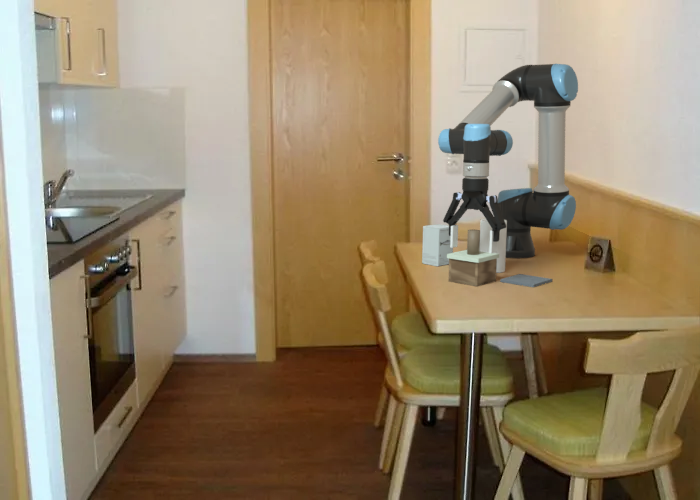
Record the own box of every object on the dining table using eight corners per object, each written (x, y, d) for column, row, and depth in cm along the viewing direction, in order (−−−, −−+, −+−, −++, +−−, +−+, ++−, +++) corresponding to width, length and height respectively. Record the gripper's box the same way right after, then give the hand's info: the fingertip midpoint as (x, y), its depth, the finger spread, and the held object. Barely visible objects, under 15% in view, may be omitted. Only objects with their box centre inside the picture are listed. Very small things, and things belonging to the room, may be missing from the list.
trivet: (519, 276, 253) (519, 273, 253) (552, 281, 246) (552, 278, 246) (500, 281, 245) (500, 279, 245) (533, 287, 238) (533, 284, 238)
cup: (504, 273, 258) (506, 222, 255) (478, 272, 259) (479, 221, 256) (505, 268, 266) (507, 218, 263) (479, 267, 267) (481, 217, 264)
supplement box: (438, 266, 268) (438, 228, 265) (421, 263, 273) (422, 225, 271) (453, 264, 272) (454, 226, 270) (436, 260, 278) (437, 223, 276)
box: (467, 276, 252) (468, 253, 251) (495, 281, 246) (496, 257, 245) (448, 281, 245) (449, 258, 244) (477, 286, 239) (477, 262, 237)
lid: (467, 253, 252) (468, 226, 251) (499, 257, 245) (500, 230, 243) (446, 258, 244) (447, 230, 243) (478, 262, 237) (479, 234, 235)
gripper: (433, 175, 246) (431, 246, 249) (506, 180, 229) (502, 256, 233) (447, 174, 251) (445, 243, 255) (520, 179, 235) (516, 253, 238)
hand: (473, 249), depth 244 cm, fingers open, 13 cm apart
